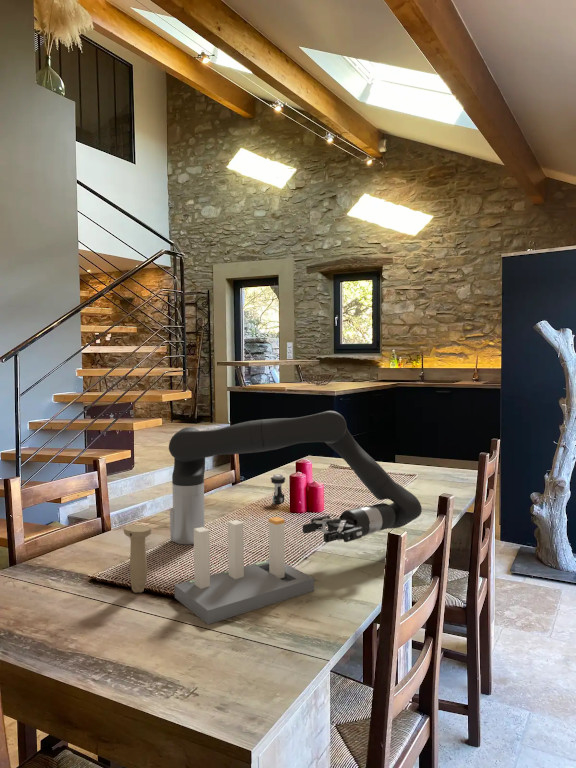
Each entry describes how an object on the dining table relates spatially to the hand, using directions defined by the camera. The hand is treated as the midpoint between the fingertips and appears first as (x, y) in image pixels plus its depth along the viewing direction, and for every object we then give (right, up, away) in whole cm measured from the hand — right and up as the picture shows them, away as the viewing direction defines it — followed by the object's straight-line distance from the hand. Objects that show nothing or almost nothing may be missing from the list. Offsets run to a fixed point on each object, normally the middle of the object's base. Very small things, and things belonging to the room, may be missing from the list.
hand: (313, 533), depth 147 cm
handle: (-42, -11, -9) cm, 44 cm away
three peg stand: (-16, -11, -11) cm, 23 cm away
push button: (-10, -6, +67) cm, 68 cm away
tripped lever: (-9, -9, -6) cm, 14 cm away
